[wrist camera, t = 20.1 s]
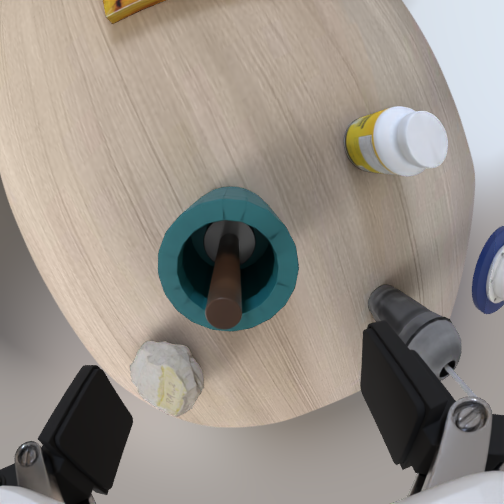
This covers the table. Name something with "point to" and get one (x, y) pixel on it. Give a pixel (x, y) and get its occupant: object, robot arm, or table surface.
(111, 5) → the picture frame
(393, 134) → the pill bottle
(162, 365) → the fossil replica
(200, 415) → the table surface
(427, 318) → the beverage cup
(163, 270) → the jar
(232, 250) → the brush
